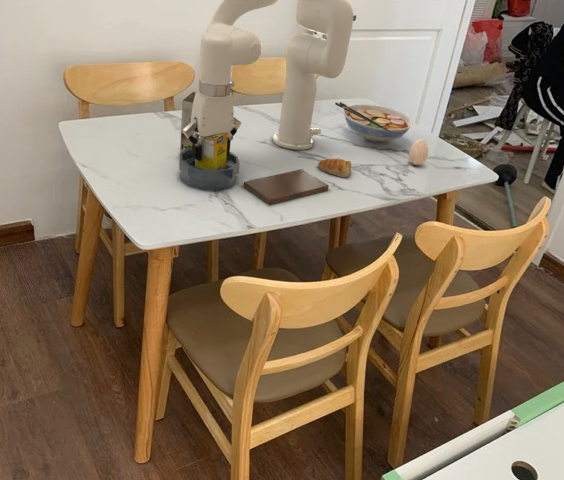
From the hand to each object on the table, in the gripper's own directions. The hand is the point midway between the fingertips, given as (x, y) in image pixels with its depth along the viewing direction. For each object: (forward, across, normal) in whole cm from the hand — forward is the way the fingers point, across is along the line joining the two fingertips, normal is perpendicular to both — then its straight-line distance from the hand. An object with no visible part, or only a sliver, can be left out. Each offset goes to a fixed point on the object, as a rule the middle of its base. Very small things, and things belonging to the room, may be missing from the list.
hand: (211, 155), depth 155 cm
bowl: (+6, +1, 0) cm, 6 cm away
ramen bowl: (+8, -66, -4) cm, 67 cm away
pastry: (+7, -35, +11) cm, 38 cm away
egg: (+7, -63, +17) cm, 66 cm away
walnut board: (+6, -15, +14) cm, 21 cm away
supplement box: (+5, 0, 0) cm, 5 cm away
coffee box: (+6, -4, -14) cm, 16 cm away
